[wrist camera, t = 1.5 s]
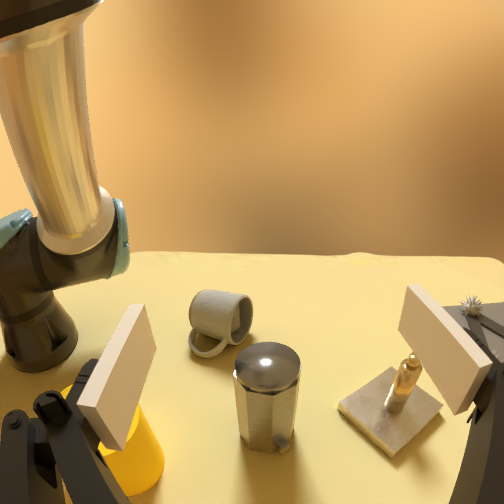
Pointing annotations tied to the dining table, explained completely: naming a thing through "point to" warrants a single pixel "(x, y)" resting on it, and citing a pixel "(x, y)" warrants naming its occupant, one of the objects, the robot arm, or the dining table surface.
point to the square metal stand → (392, 407)
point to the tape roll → (134, 456)
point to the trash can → (267, 395)
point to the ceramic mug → (220, 319)
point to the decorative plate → (482, 323)
